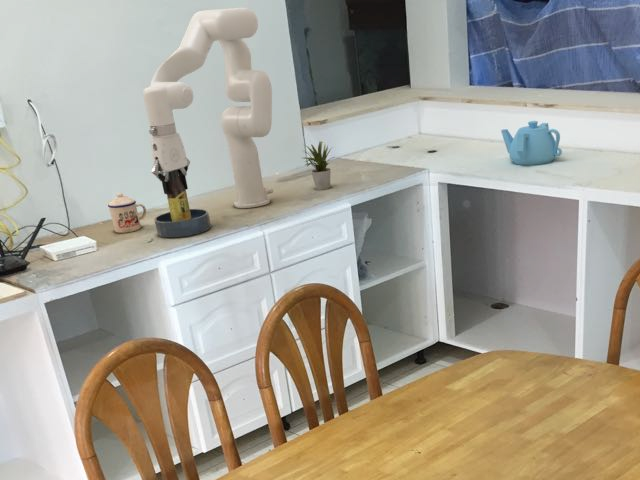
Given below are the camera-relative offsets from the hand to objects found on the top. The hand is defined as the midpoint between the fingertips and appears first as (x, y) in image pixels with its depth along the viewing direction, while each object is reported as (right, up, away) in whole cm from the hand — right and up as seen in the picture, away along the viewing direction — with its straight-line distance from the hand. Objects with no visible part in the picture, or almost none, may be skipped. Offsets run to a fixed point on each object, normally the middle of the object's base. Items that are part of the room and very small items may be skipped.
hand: (176, 191), depth 296 cm
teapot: (+121, +32, +54) cm, 136 cm away
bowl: (+1, -11, +7) cm, 13 cm away
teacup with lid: (-19, -7, +16) cm, 26 cm away
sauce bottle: (+1, -10, +7) cm, 12 cm away
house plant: (+42, +19, +46) cm, 66 cm away
